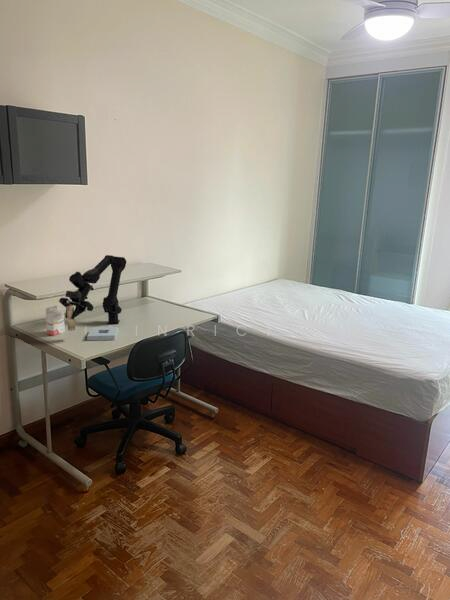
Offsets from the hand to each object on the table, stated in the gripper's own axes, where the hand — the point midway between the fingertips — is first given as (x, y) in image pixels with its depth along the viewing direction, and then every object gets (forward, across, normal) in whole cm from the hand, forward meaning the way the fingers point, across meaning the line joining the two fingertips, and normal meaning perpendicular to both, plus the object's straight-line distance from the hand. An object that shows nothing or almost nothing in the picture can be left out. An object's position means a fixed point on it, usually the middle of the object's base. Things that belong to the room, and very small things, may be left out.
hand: (68, 318), depth 227 cm
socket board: (-1, +10, +18) cm, 21 cm away
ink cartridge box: (+5, -15, +13) cm, 20 cm away
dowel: (+4, 0, +6) cm, 7 cm away
